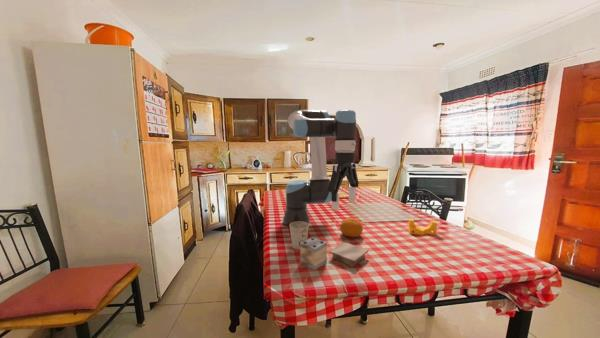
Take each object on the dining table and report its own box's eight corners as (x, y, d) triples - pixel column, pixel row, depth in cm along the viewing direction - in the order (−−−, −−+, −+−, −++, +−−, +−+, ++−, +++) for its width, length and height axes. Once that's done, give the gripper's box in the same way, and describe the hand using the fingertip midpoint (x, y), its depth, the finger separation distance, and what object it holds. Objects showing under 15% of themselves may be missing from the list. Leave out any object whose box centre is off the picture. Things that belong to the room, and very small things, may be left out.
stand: (328, 258, 87) (329, 251, 87) (343, 248, 96) (343, 241, 95) (354, 268, 80) (354, 260, 80) (368, 257, 88) (368, 249, 88)
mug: (294, 252, 92) (294, 229, 91) (282, 241, 103) (282, 220, 102) (312, 248, 96) (312, 225, 95) (298, 237, 107) (298, 217, 106)
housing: (300, 263, 84) (300, 242, 83) (312, 256, 89) (312, 236, 88) (315, 270, 79) (315, 248, 79) (326, 262, 85) (326, 241, 84)
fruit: (355, 242, 102) (356, 225, 101) (336, 235, 109) (336, 219, 108) (366, 235, 110) (366, 219, 109) (347, 229, 117) (347, 214, 116)
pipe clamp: (409, 234, 111) (410, 221, 110) (408, 230, 115) (408, 218, 114) (437, 237, 107) (437, 224, 107) (434, 233, 111) (435, 221, 111)
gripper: (337, 153, 74) (336, 215, 76) (367, 151, 93) (366, 201, 95) (318, 152, 79) (318, 211, 81) (351, 150, 98) (350, 198, 100)
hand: (344, 205), depth 88 cm, fingers open, 13 cm apart
